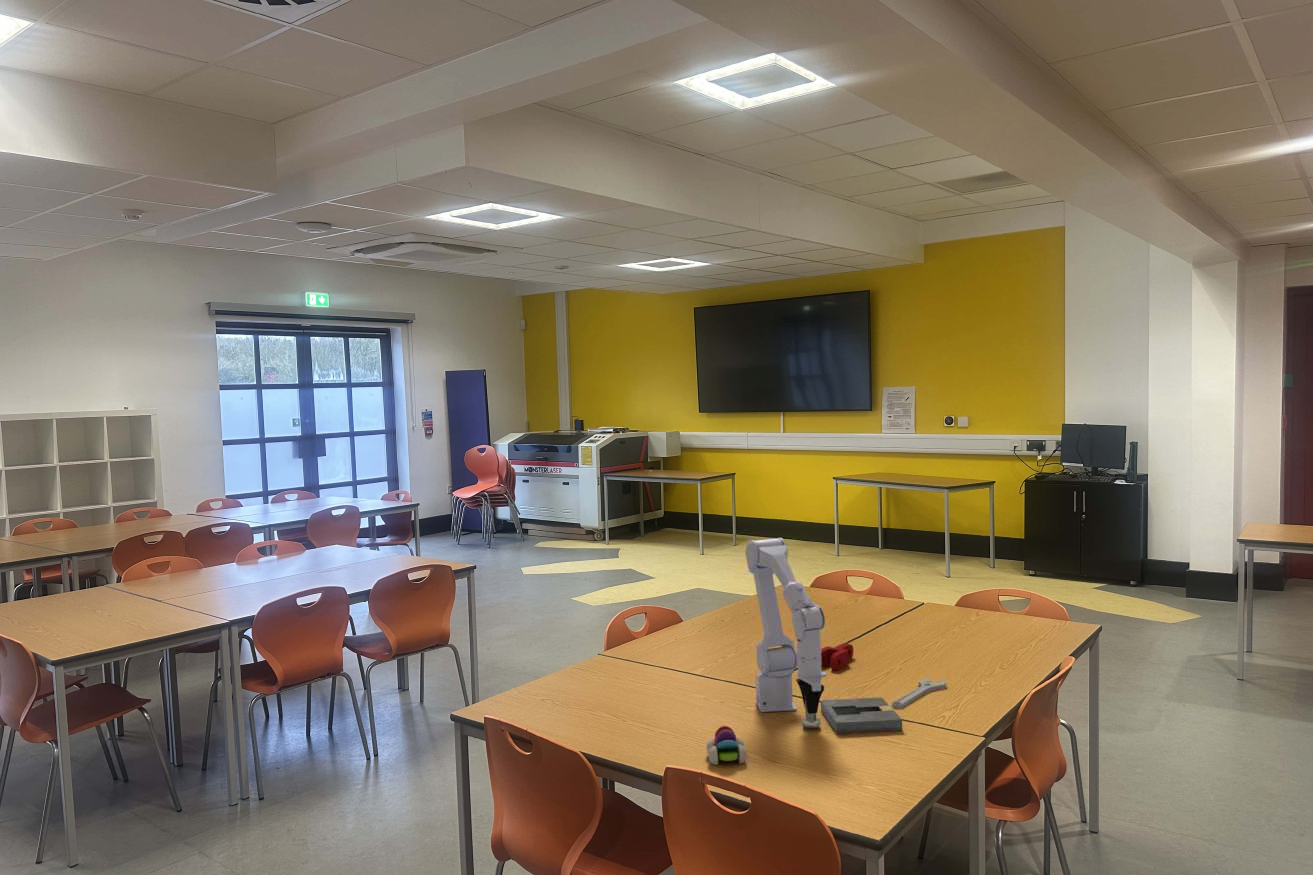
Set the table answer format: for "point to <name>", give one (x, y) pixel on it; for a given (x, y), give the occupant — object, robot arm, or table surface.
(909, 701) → the adjustable wrench
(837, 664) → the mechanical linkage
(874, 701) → the keyhole plate
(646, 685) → the table surface
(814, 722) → the steel peg
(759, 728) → the table surface
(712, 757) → the colorful toy go-kart
